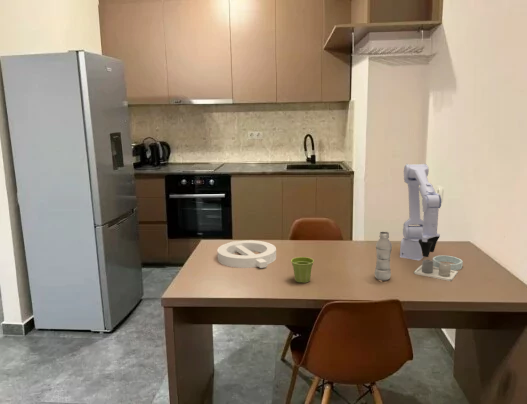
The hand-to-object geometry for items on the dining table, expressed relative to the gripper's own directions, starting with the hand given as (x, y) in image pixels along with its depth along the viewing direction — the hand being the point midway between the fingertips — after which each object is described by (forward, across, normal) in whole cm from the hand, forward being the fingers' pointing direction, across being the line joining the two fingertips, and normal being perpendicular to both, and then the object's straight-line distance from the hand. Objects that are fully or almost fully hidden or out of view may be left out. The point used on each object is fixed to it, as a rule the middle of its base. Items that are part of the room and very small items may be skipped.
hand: (428, 254), depth 186 cm
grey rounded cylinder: (+8, 0, -7) cm, 11 cm away
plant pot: (+9, -36, +40) cm, 55 cm away
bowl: (+8, +12, -5) cm, 16 cm away
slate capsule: (+8, 0, 0) cm, 8 cm away
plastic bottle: (+9, -18, +13) cm, 23 cm away
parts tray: (+8, 0, -4) cm, 9 cm away
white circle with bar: (+9, -26, +77) cm, 82 cm away
